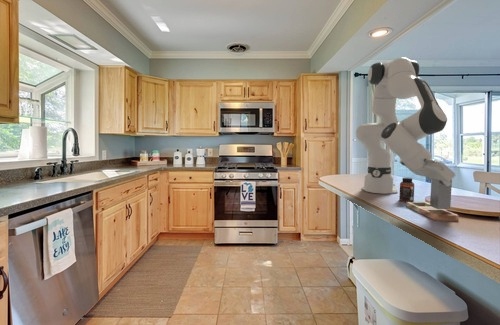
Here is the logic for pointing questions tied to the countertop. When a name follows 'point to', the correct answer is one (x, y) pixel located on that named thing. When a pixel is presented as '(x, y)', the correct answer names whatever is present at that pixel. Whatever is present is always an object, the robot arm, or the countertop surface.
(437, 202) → the graphite peg
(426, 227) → the countertop surface
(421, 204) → the wooden tray
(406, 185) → the supplement bottle
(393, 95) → the robot arm
